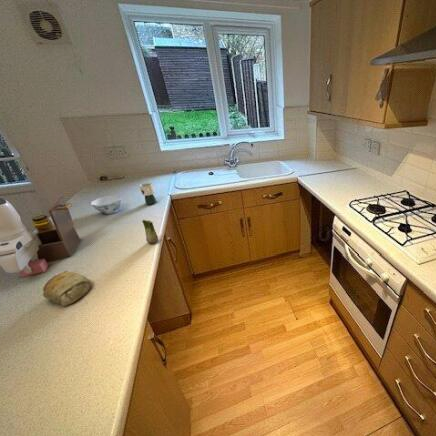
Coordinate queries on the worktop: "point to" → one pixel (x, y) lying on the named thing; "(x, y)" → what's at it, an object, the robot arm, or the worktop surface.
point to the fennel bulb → (150, 232)
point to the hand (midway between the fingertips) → (33, 267)
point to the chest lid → (61, 217)
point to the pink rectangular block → (35, 267)
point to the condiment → (42, 223)
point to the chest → (56, 245)
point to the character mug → (148, 193)
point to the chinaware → (107, 204)
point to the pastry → (66, 288)
